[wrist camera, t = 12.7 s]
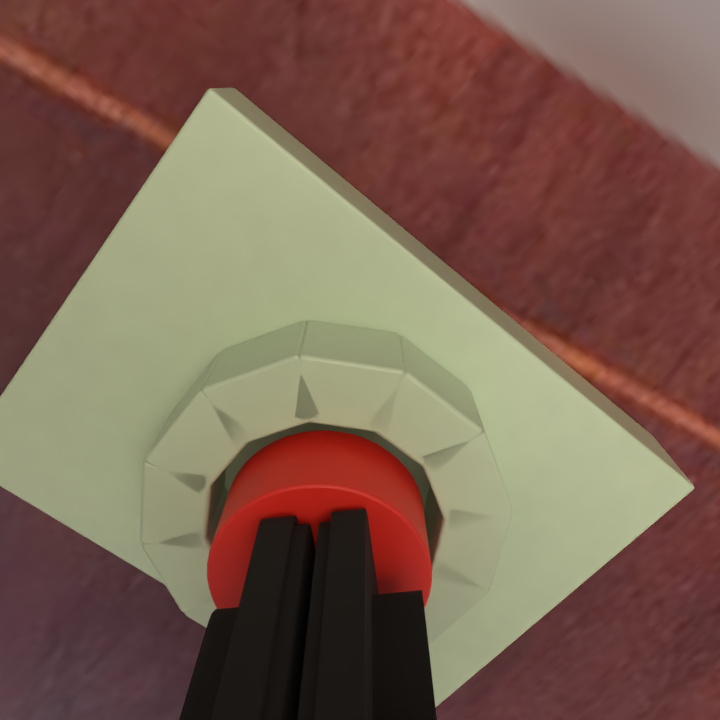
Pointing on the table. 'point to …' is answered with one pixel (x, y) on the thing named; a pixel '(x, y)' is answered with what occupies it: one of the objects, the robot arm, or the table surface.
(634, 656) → the table surface
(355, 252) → the button block
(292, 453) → the button
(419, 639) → the robot arm
